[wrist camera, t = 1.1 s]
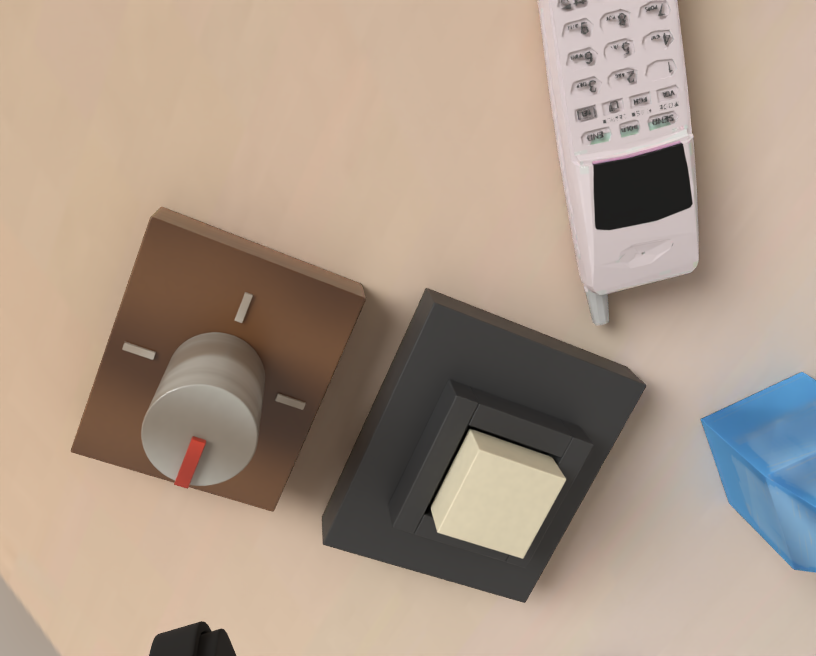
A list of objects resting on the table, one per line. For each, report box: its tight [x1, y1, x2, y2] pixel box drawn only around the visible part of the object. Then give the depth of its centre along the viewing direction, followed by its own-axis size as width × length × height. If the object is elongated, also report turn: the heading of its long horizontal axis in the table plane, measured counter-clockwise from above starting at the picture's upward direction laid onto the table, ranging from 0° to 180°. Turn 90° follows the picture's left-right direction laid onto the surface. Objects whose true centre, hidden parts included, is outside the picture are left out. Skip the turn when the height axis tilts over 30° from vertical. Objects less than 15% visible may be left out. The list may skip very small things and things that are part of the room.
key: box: [430, 429, 566, 559], centre depth 35 cm, size 5×5×2 cm
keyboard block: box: [322, 288, 646, 603], centre depth 38 cm, size 14×12×4 cm
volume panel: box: [71, 207, 366, 511], centre depth 36 cm, size 12×10×3 cm
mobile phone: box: [538, 0, 699, 325], centre depth 32 cm, size 6×6×25 cm
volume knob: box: [141, 332, 265, 488], centre depth 32 cm, size 4×4×6 cm
